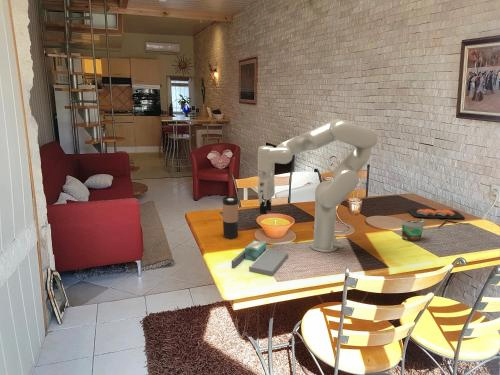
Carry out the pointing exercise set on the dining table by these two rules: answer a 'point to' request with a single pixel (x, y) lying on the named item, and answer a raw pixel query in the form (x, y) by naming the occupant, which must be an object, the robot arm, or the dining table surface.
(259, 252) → the teal rectangular box
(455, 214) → the sushi plate
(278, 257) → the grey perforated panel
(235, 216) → the travel mug
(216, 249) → the dining table surface
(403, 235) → the food container
